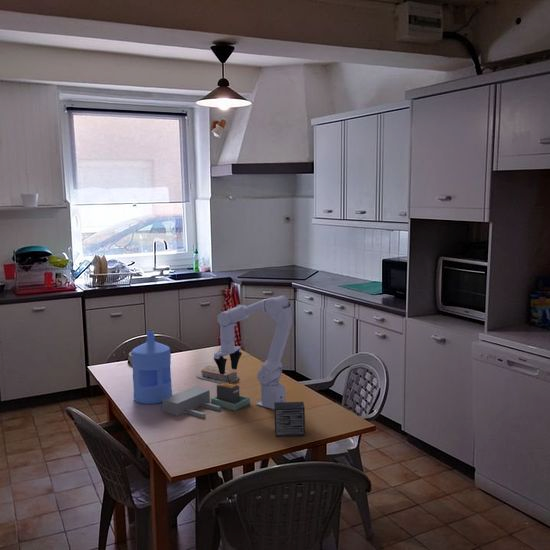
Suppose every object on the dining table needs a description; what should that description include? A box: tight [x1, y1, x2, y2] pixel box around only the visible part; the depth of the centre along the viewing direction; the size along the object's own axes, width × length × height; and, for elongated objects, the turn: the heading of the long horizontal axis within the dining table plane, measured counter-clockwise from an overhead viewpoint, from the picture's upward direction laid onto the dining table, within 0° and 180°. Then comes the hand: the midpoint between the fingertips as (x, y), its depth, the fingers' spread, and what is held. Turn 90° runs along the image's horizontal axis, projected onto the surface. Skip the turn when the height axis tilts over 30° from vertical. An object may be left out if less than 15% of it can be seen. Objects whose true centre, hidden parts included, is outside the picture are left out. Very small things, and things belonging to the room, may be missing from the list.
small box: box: [273, 401, 306, 438], centre depth 203 cm, size 11×6×10 cm, turn 92°
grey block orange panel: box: [216, 382, 240, 404], centre depth 231 cm, size 8×4×7 cm, turn 54°
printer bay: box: [162, 386, 222, 419], centre depth 226 cm, size 18×18×5 cm
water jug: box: [131, 330, 173, 405], centre depth 237 cm, size 16×16×28 cm
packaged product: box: [196, 365, 241, 384], centre depth 263 cm, size 18×5×10 cm
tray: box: [210, 394, 251, 412], centre depth 231 cm, size 13×9×2 cm
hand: (228, 371), depth 239 cm, fingers open, 7 cm apart
